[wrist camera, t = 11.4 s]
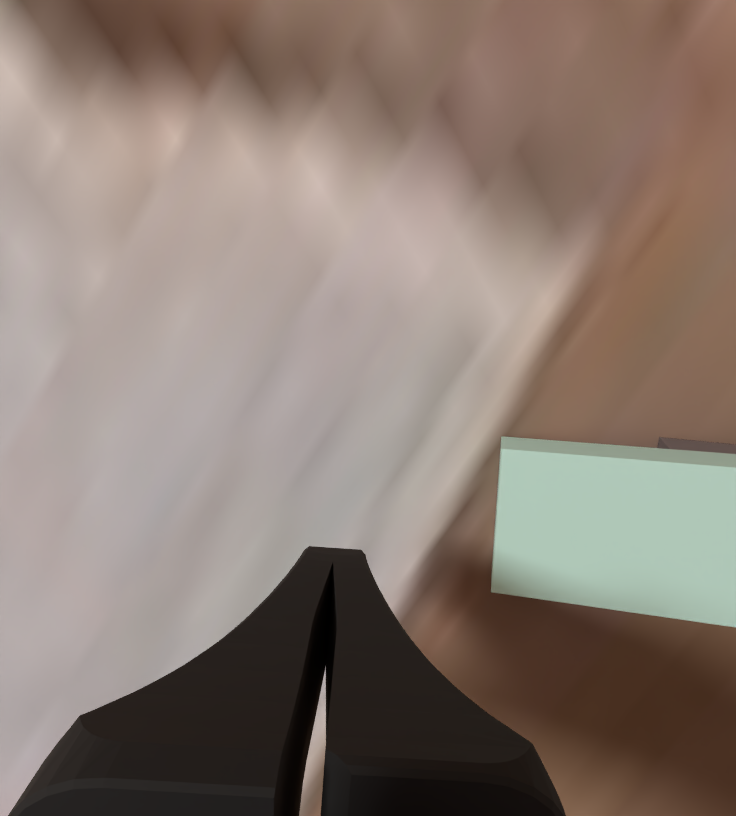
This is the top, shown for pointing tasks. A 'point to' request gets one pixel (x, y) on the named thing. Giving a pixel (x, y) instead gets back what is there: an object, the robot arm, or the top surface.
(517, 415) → the top surface
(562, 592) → the green domino
